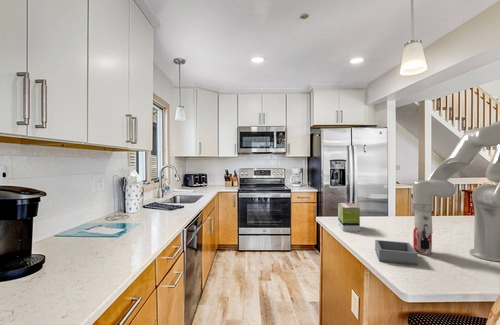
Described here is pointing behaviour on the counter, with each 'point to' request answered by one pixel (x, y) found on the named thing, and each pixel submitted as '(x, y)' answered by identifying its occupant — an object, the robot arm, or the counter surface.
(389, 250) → the gray square tray
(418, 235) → the soda can
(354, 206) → the tea box
